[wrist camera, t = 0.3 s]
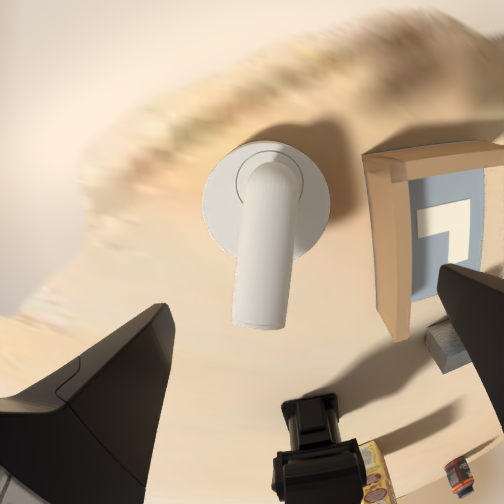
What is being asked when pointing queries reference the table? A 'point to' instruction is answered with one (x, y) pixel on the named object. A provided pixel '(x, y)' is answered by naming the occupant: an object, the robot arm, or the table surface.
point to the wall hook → (265, 224)
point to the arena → (424, 219)
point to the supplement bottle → (460, 477)
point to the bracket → (446, 347)
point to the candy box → (376, 476)
